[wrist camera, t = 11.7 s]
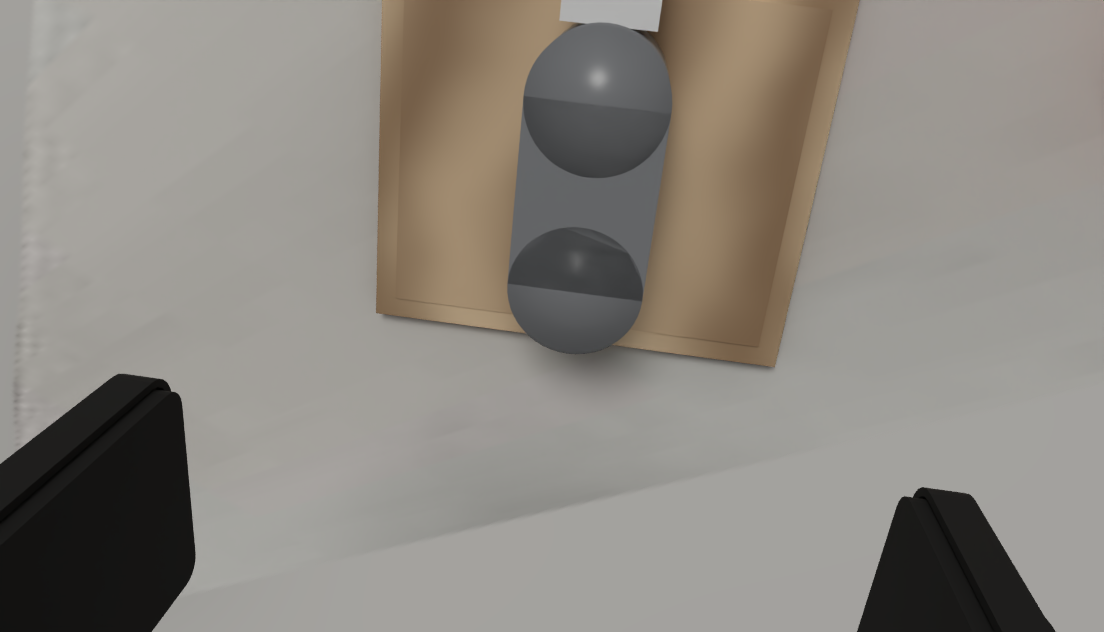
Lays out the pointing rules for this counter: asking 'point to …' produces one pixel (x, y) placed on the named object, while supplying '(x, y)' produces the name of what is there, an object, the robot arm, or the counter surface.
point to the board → (687, 178)
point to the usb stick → (589, 176)
